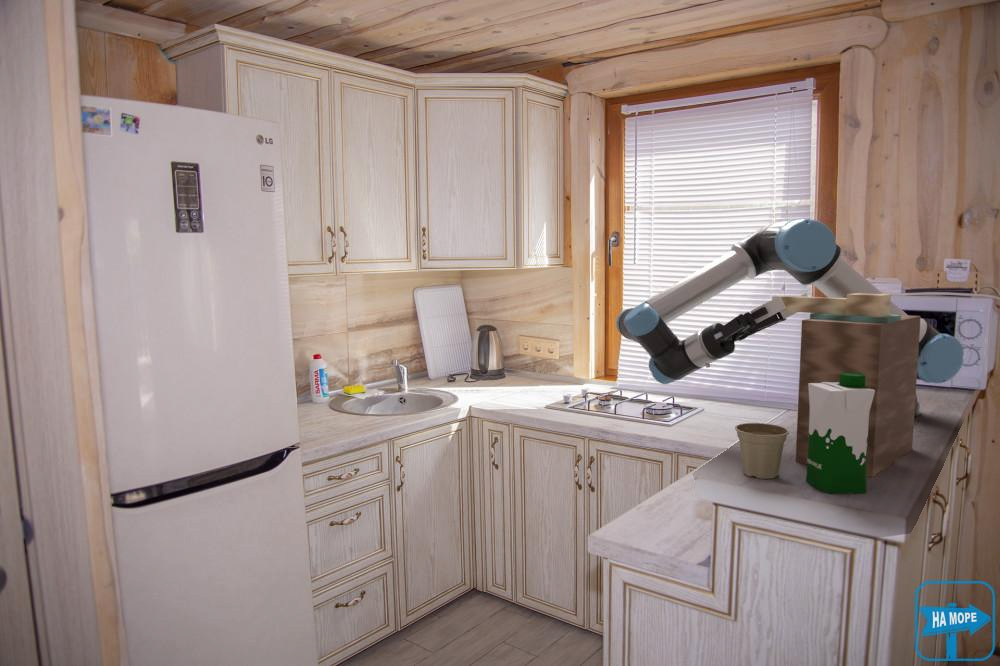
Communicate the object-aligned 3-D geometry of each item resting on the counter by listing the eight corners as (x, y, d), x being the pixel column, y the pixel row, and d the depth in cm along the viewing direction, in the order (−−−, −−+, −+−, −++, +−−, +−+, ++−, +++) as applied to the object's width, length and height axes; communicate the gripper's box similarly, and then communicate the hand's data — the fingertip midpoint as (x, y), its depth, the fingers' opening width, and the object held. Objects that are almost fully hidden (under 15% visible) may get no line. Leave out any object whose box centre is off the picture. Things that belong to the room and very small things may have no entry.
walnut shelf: (795, 461, 140) (802, 314, 137) (841, 437, 158) (848, 307, 155) (872, 477, 130) (881, 319, 127) (912, 449, 149) (920, 311, 146)
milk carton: (874, 494, 121) (881, 378, 118) (823, 496, 120) (829, 379, 118) (845, 478, 129) (851, 369, 127) (797, 479, 129) (802, 370, 126)
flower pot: (761, 485, 126) (763, 437, 125) (722, 471, 134) (723, 426, 133) (798, 477, 130) (800, 431, 129) (758, 464, 138) (760, 420, 137)
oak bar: (768, 311, 146) (769, 291, 146) (780, 309, 151) (781, 290, 150) (879, 317, 132) (881, 295, 131) (889, 315, 136) (890, 294, 136)
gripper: (743, 354, 167) (826, 313, 153) (690, 365, 149) (779, 321, 135) (729, 325, 169) (810, 283, 155) (675, 333, 151) (761, 286, 137)
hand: (796, 300), depth 145 cm, fingers open, 13 cm apart
